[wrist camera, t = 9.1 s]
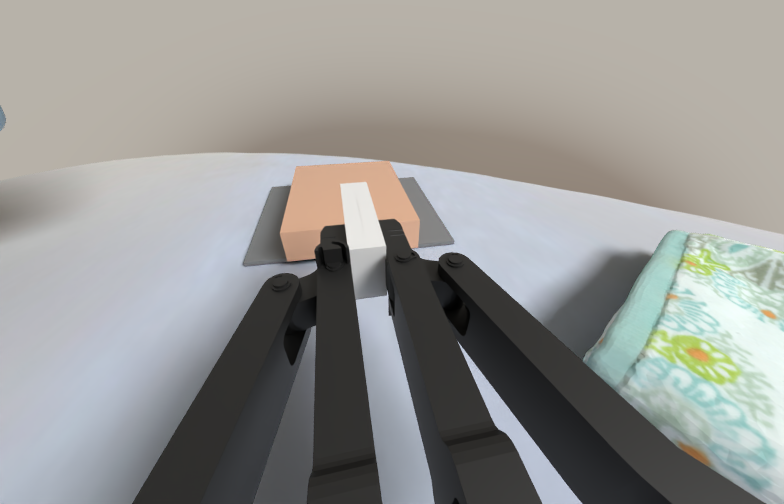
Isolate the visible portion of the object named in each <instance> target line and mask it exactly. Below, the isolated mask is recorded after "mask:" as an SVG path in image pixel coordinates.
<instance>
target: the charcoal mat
mask: <svg viewBox="0 0 784 504" xmlns="http://www.w3.org/2000/svg"><path fill="white" fill-rule="evenodd" d="M398 179H399V181H400V183H401V185H402V187H403V189H404V191H405V193H406V194H407V196H408V198H409V200H410V202H411V204H412V206H413V208H414V210H415V212H416V214H417V215H418V217H419V219H420V227H419V242H418V248H421V247H430V246H439V245H449V244H454V240H453V238H452V236H451V235H450V233H449V232H448V230H447V229H446V227H445V226H444V224H443V222H442V221H441V219H440V218H439V216H438V215H437V213H436V212H435V210H434V208H433V207H432V205H431V204H430V202H429V201H428V199H427V197H426V196H425V194H424V193H423V191H422V190H421V188H420V187H419V185H418V183H417V182H416V180H415V179H414V177H410V178H398ZM290 190H291V186H281V187H272V189H271V191H270V194H269V197H268V199H267V202H266V205H265V207H264V210H263V213H262V215H261V218H260V220H259V223H258V226H257V228H256V231H255V234H254V236H253V239H252V242H251V244H250V247H249V249H248V252H247V255H246V257H245V260H244V266H253V265H262V264H271V263H281V262H287V258H286V254H285V251H284V247H283V244H282V240H281V236H280V230H281V226H282V222H283V218H284V214H285V210H286V206H287V202H288V198H289V194H290ZM307 260H309V259H307ZM298 261H299V260H298ZM289 262H290V261H289Z"/></svg>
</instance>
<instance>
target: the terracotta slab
mask: <svg viewBox="0 0 784 504" xmlns="http://www.w3.org/2000/svg"><path fill="white" fill-rule="evenodd" d="M357 182H367V186H368V189H369V192H370V195H371V199H372V202H373V205H374V208H375V211H376V215H377V218H378V220H385V219H395V220H397V221H398V222H399V223H400V224H401V226H402V228H403V231H404V233H405V235H406V238H407V240H408V242H409V245H410V247H411V248H418V242H419V227H420V219H419V217H418V215H417V214H416V212H415V210H414V208H413V206H412V204H411V202H410V200H409V198H408V196H407V194H406V193H405V191H404V189H403V187H402V185H401V183H400V181H399V179H398V177H397V175H396V173H395V171H394V170H393V168H392V166H391V164H390V162H389V161H380V162H363V163H347V164H330V165H313V166H297V167H296V169H295V173H294V177H293V181H292V185H291V190H290V194H289V198H288V202H287V206H286V210H285V214H284V218H283V222H282V226H281V230H280V236H281V240H282V244H283V247H284V251H285V254H286V258H287V262H289V261H298V260H307V259H316V258H315V253H314V250H315V248H316V246H318V245H319V244H320V232H321V231H322V229H323V228H324V226H331V225H341V224H345V222H344V213H343V204H342V196H341V187H340V184H344V183H357Z"/></svg>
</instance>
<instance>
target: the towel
mask: <svg viewBox="0 0 784 504" xmlns="http://www.w3.org/2000/svg"><path fill="white" fill-rule="evenodd" d="M582 361H583V362H584V363H585V364H586V365H587V366H588V367H590V368H591V369H592V370H593V371H594V372H595V373H596V374H597V375H598V376H600V377H601V378H602V379H603V380H604V381H605V382H606V383H607V384H608V385H609V386H611V387H612V388H613V389H614V390H615V391H616V392H617V393H618V394H619V395H621V396H622V397H623V398H624V399H625V400H626V401H627V402H628V403H629V404H630V405H632V406H633V407H634V408H635V409H636V410H637V411H638V412H639V413H640V414H642V415H643V416H644V417H645V418H646V419H647V420H648V421H649V422H650V423H652V424H653V425H654V426H655V427H656V428H657V429H658V430H659V431H660V432H661V433H663V434H664V435H665V436H666V437H667V438H668V439H669V440H670V441H671V442H673V443H674V444H675V445H676V446H677V447H678V448H680V449H681V450H683V451H684V452H686V453H687V454H689V455H691V456H692V457H694V458H695V459H697V460H698V461H700V462H702V463H703V464H705V465H706V466H708V467H709V468H711V469H713V470H714V471H716V472H717V473H719V474H720V475H722V476H724V477H725V478H727V479H728V480H730V481H731V482H733V483H734V484H736V485H738V486H739V487H741V488H742V489H744V490H745V491H747V492H749V493H750V494H752V495H753V496H755V497H756V498H758V499H760V500H761V501H763V502H764V503H766V504H784V252H781V251H777V250H773V249H769V248H765V247H761V246H756V245H752V244H747V243H742V242H737V241H733V240H729V239H724V238H722V237H719V236H715V235H711V234H697V233H688V232H685V231H680V230H673V231H669V232H668V233H667V234H666V235H665V236H664V237H663V239H662V240H661V242H660V243H659V245H658V247H657V248H656V250H655V252H654V254H653V255H652V257H651V259H650V260H649V262H648V263H647V264H646V266H645V267H644V269H643V270H642V272H641V273H640V275H639V276H638V278H637V279H636V281H635V283H634V285H633V287H632V289H631V290H630V293H629V295H628V297H627V299H626V301H625V302H624V304H623V305H622V306H621V308H620V309H619V310H618V311H617V312H616V313H615V314H614V315H613V317H612V319H611V320H610V322H609V323H608V325H607V326H606V327H605V329H604V332H603V335H602V336H601V337H600V338H599V340H598V341H597V342H596V344H595V345H594V346H593V347H592V348H590V349H589V350H588V351H587V352H586V353H585V356H584V358H583V360H582Z"/></svg>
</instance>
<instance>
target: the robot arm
mask: <svg viewBox="0 0 784 504" xmlns="http://www.w3.org/2000/svg"><path fill="white" fill-rule="evenodd" d="M5 123H6V118H5V114H4V112H3V110H2V108H1V106H0V131H1V130H2V129H3V128H4V126H5ZM340 187H341V196H342V204H343V213H344V222H345V224H341V225H331V226H324V228H323V229H322V231H321V232H320V244H319V245H318V246H316V248H315V250H314V253H315V258H316V263H317V270H316V271H314V272H313V273H311V274H310V275H307V276H305V277H302V278H299V279H298V277H297V276H296V275H294V274H290V273H282V274H278V275H275V276H273V277H271V278H269V279H268V280H267V281H266V282H265V283H264V284H263V286H262V288H261V289H260V291H259V293H258V294H257V296H256V298H255V299H254V301H253V303H252V304H251V306H250V308H249V309H248V311H247V313H246V314H245V316H244V318H243V319H242V321H241V323H240V324H239V326H238V328H237V329H236V331H235V333H234V334H233V336H232V338H231V339H230V341H229V343H228V344H227V346H226V348H225V349H224V351H223V353H222V354H221V356H220V358H219V359H218V361H217V363H216V364H215V366H214V368H213V369H212V371H211V373H210V374H209V376H208V378H207V379H206V381H205V383H204V384H203V386H202V388H201V389H200V391H199V393H198V394H197V396H196V398H195V400H194V401H193V403H192V405H191V406H190V408H189V410H188V411H187V413H186V415H185V416H184V418H183V420H182V421H181V423H180V425H179V426H178V428H177V430H176V431H175V433H174V435H173V436H172V438H171V440H170V441H169V443H168V445H167V446H166V448H165V450H164V451H163V453H162V455H161V456H160V458H159V460H158V461H157V463H156V465H155V466H154V468H153V470H152V471H151V473H150V475H149V476H148V478H147V480H146V481H145V483H144V485H143V486H142V488H141V490H140V491H139V493H138V495H137V496H136V498H135V500H134V501H133V503H132V504H253V501H254V498H255V495H256V492H257V489H258V486H259V483H260V480H261V477H262V474H263V471H264V468H265V465H266V462H267V459H268V456H269V453H270V450H271V447H272V444H273V441H274V438H275V435H276V432H277V430H278V427H279V424H280V421H281V418H282V415H283V412H284V409H285V406H286V403H287V400H288V397H289V394H290V391H291V388H292V385H293V382H294V379H295V376H296V373H297V370H298V367H299V364H300V361H301V358H302V355H303V353H304V350H305V347H306V344H307V341H308V338H309V335H310V332H311V327H313V326H315V325H316V358H315V404H314V449H313V469H312V473H311V476H310V478H309V484H308V495H307V504H382V499H381V491H380V483H379V476H378V469H377V462H376V455H375V448H374V440H373V432H372V425H371V417H370V409H369V401H368V394H367V386H366V378H365V370H364V362H363V355H362V347H361V339H360V331H359V324H358V316H357V308H356V300H357V299H364V298H371V297H378V296H385V295H387V291H388V295H389V316H392V320H393V324H394V328H395V332H396V336H397V340H398V344H399V348H400V352H401V356H402V360H403V364H404V369H405V373H406V377H407V381H408V385H409V389H410V393H411V397H412V401H413V405H414V409H415V413H416V417H417V421H418V425H419V430H420V434H421V438H422V442H423V446H424V450H425V454H426V458H427V462H428V466H429V470H430V475H431V479H432V487H433V496H434V502H435V504H542V502H541V500H540V498H539V496H538V494H537V492H536V489H535V487H534V485H533V483H532V481H531V479H530V477H529V475H528V472H527V470H526V468H525V466H524V464H523V462H522V460H521V458H520V456H519V453H518V451H517V449H516V448H515V446H514V444H513V442H512V440H511V439H510V438H509V437H508V436H507V434H506V433H504V432H502V431H500V430H498V428H497V427H496V426H495V424H494V422H493V420H492V418H491V416H490V414H489V411H488V409H487V407H486V405H485V402H484V400H483V398H482V396H481V393H480V391H479V389H478V387H477V384H476V382H475V380H474V378H473V376H472V373H471V371H470V369H469V367H468V364H467V362H466V360H465V358H464V355H463V353H462V351H461V349H460V346H459V344H458V342H459V343H460V345H461V346H462V347H463V349H464V350H465V351H466V353H467V354H468V355H469V356H470V358H471V359H472V360H473V362H474V363H475V364H476V366H477V367H478V368H479V370H480V371H481V372H482V374H483V375H484V376H485V377H486V379H487V380H488V381H489V383H490V384H491V385H492V387H493V388H494V389H495V391H496V392H497V393H498V394H499V396H500V397H501V398H502V400H503V401H504V402H505V404H506V405H507V406H508V408H509V409H510V410H511V412H512V413H513V414H514V415H515V417H516V418H517V419H518V421H519V422H520V423H521V425H522V426H523V427H524V429H525V430H526V431H527V433H528V434H529V435H530V436H531V438H532V439H533V440H534V442H535V443H536V444H537V446H538V447H539V448H540V450H541V451H542V452H543V454H544V455H545V456H546V457H547V459H548V460H549V461H550V463H551V464H552V465H553V467H554V468H555V469H556V471H557V472H558V473H559V474H560V476H561V477H562V478H563V480H564V481H565V482H566V484H567V485H568V486H569V488H570V489H571V490H572V491H573V493H574V494H575V495H576V496H577V497H578V499H579V500H580V501H581V502H582V504H766V503H764V502H763V501H761V500H760V499H758V498H756V497H755V496H753V495H752V494H750V493H749V492H747V491H745V490H744V489H742V488H741V487H739V486H738V485H736V484H734V483H733V482H731V481H730V480H728V479H727V478H725V477H724V476H722V475H720V474H719V473H717V472H716V471H714V470H713V469H711V468H709V467H708V466H706V465H705V464H703V463H702V462H700V461H698V460H697V459H695V458H694V457H692V456H691V455H689V454H687V453H686V452H684V451H683V450H681V449H680V448H678V447H677V446H676V445H675V444H674V443H673V442H671V441H670V440H669V439H668V438H667V437H666V436H665V435H664V434H663V433H661V432H660V431H659V430H658V429H657V428H656V427H655V426H654V425H653V424H652V423H650V422H649V421H648V420H647V419H646V418H645V417H644V416H643V415H642V414H640V413H639V412H638V411H637V410H636V409H635V408H634V407H633V406H632V405H630V404H629V403H628V402H627V401H626V400H625V399H624V398H623V397H622V396H621V395H619V394H618V393H617V392H616V391H615V390H614V389H613V388H612V387H611V386H609V385H608V384H607V383H606V382H605V381H604V380H603V379H602V378H601V377H600V376H598V375H597V374H596V373H595V372H594V371H593V370H592V369H591V368H590V367H588V366H587V365H586V364H585V363H584V362H583V361H582V360H581V359H580V358H578V357H577V356H576V355H575V354H574V353H573V352H572V351H571V350H570V349H569V348H567V347H566V346H565V345H564V344H563V343H562V342H561V341H560V340H559V339H557V338H556V337H555V336H554V335H553V334H552V333H551V332H550V331H549V330H547V329H546V328H545V327H544V326H543V325H542V324H541V323H540V322H539V321H538V320H536V319H535V318H534V317H533V316H532V315H531V314H530V313H529V312H528V311H526V310H525V309H524V308H523V307H522V306H521V305H520V304H519V303H518V302H517V301H515V300H514V299H513V298H512V297H511V296H510V295H509V294H508V293H507V292H505V291H504V290H503V289H502V288H501V287H500V286H499V285H498V284H497V283H495V282H494V281H493V280H492V279H491V278H490V277H489V276H488V275H487V274H486V273H484V272H483V271H482V270H481V269H480V268H479V267H478V266H477V265H476V264H474V263H473V262H472V261H471V260H470V259H469V258H468V257H466V256H465V255H462V254H459V253H453V252H451V253H445V254H443V255H441V257H440V258H439V261H431V260H425V259H422V258H420V256H419V255H418V254H417V252H415V251H413V250H412V249H411V247H410V245H409V242H408V240H407V238H406V235H405V233H404V231H403V228H402V226H401V224H400V223H399V222H398V221H397V220H395V219H385V220H378V218H377V215H376V211H375V208H374V205H373V202H372V199H371V195H370V192H369V189H368V186H367V182H357V183H344V184H340ZM456 339H457V340H456ZM457 341H458V342H457Z"/></svg>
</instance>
